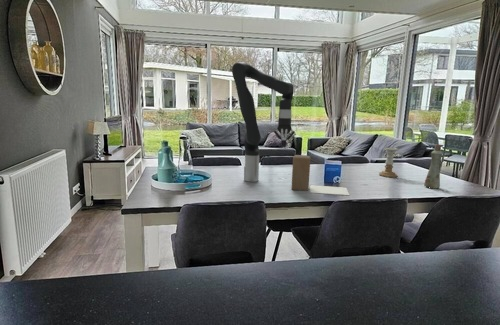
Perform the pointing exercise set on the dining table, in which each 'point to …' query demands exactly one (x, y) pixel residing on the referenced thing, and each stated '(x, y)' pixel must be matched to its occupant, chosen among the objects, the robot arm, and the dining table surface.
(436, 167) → the bottle
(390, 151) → the candle holder
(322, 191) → the mat
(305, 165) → the block
